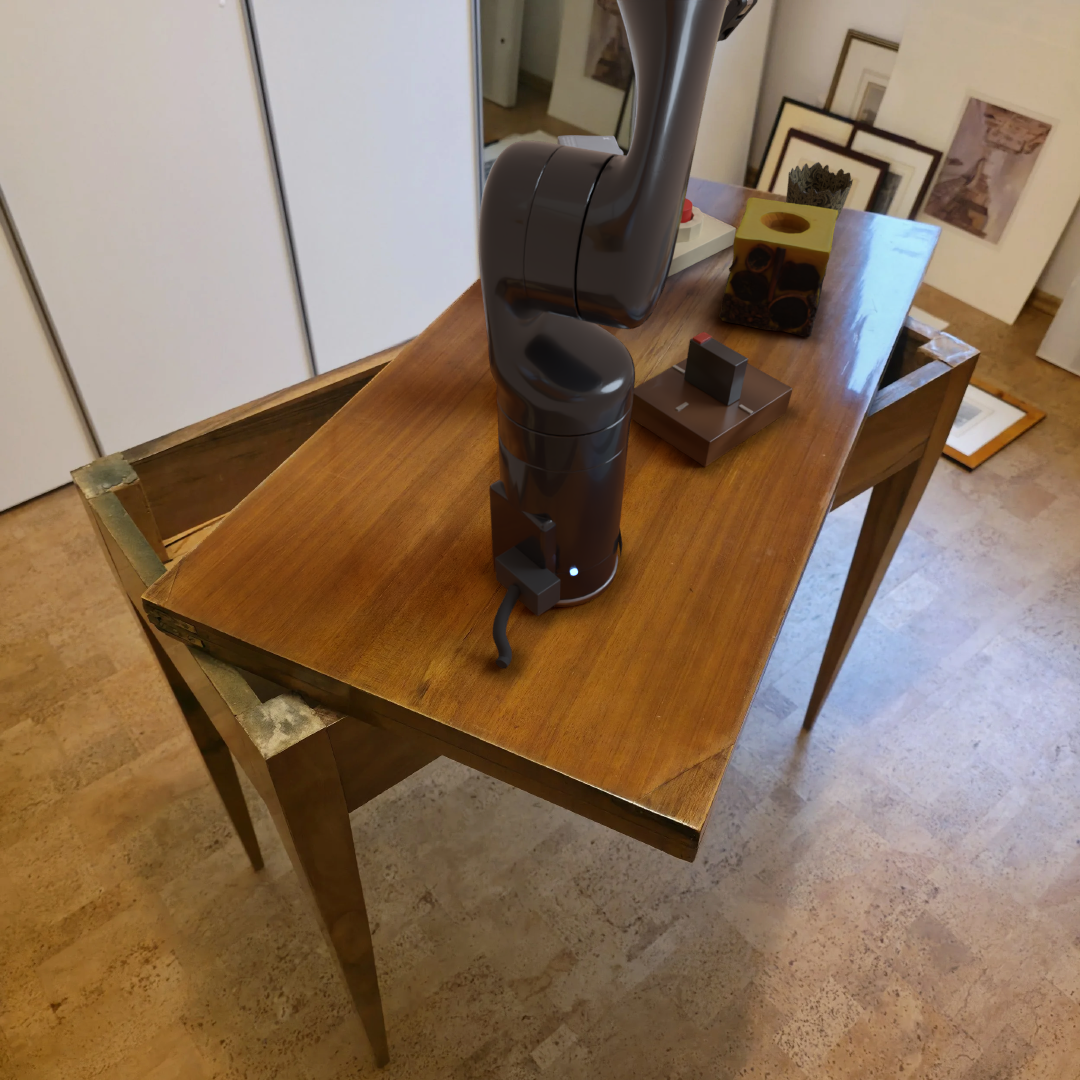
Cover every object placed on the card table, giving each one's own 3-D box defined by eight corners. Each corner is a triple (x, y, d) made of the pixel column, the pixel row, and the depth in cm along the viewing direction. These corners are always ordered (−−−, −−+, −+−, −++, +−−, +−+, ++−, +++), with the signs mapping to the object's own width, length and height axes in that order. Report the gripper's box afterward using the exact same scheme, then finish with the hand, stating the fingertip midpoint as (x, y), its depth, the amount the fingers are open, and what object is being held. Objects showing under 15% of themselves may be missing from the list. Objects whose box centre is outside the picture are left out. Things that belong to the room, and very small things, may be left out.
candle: (810, 340, 94) (833, 254, 87) (717, 323, 96) (732, 237, 89) (821, 292, 101) (843, 209, 93) (733, 277, 103) (748, 194, 96)
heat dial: (740, 398, 82) (749, 356, 78) (727, 406, 81) (735, 363, 78) (696, 372, 85) (703, 330, 81) (683, 379, 84) (689, 337, 80)
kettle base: (667, 277, 103) (671, 246, 100) (607, 246, 108) (609, 215, 105) (733, 244, 108) (739, 213, 105) (673, 216, 113) (677, 185, 110)
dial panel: (705, 467, 80) (710, 440, 77) (626, 415, 85) (629, 389, 83) (786, 413, 85) (793, 386, 83) (708, 367, 90) (712, 341, 88)
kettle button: (675, 228, 103) (676, 214, 102) (650, 216, 105) (652, 202, 104) (697, 218, 105) (699, 204, 104) (673, 206, 107) (674, 192, 106)
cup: (847, 238, 109) (865, 175, 104) (816, 260, 106) (832, 195, 100) (796, 219, 113) (810, 156, 107) (764, 239, 109) (777, 175, 103)
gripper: (635, -123, 83) (622, 72, 96) (744, -100, 77) (714, 108, 89) (688, -133, 87) (669, 57, 99) (796, -111, 80) (761, 90, 93)
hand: (690, 81), depth 94 cm, fingers closed
